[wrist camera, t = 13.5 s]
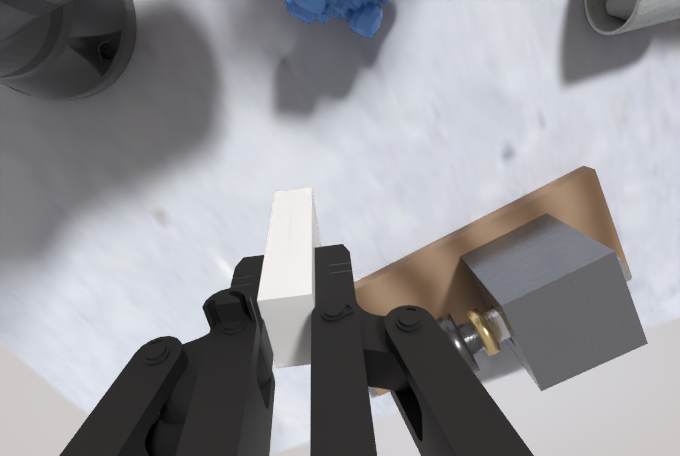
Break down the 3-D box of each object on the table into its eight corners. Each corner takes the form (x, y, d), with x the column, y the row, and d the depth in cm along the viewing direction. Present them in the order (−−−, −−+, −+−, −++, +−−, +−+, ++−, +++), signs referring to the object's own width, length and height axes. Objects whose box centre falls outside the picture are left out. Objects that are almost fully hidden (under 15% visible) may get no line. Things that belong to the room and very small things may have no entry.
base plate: (377, 385, 53) (379, 396, 51) (322, 298, 49) (322, 307, 47) (620, 270, 49) (632, 277, 47) (583, 165, 45) (594, 169, 43)
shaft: (449, 353, 45) (467, 391, 40) (426, 310, 44) (441, 344, 38) (608, 278, 43) (651, 307, 38) (590, 230, 42) (632, 252, 36)
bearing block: (494, 326, 49) (541, 391, 38) (460, 256, 46) (501, 305, 35) (576, 287, 47) (647, 343, 37) (546, 213, 44) (615, 251, 34)
